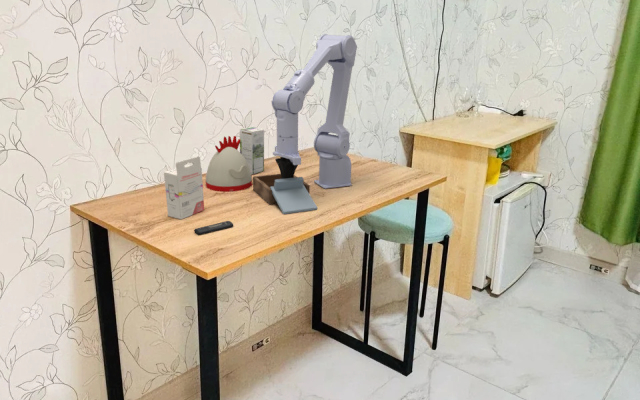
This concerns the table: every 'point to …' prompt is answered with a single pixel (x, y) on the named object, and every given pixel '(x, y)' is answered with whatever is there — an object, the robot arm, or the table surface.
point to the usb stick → (213, 228)
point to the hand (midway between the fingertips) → (287, 184)
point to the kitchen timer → (228, 168)
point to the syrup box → (253, 148)
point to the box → (263, 187)
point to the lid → (292, 195)
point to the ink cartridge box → (184, 189)
